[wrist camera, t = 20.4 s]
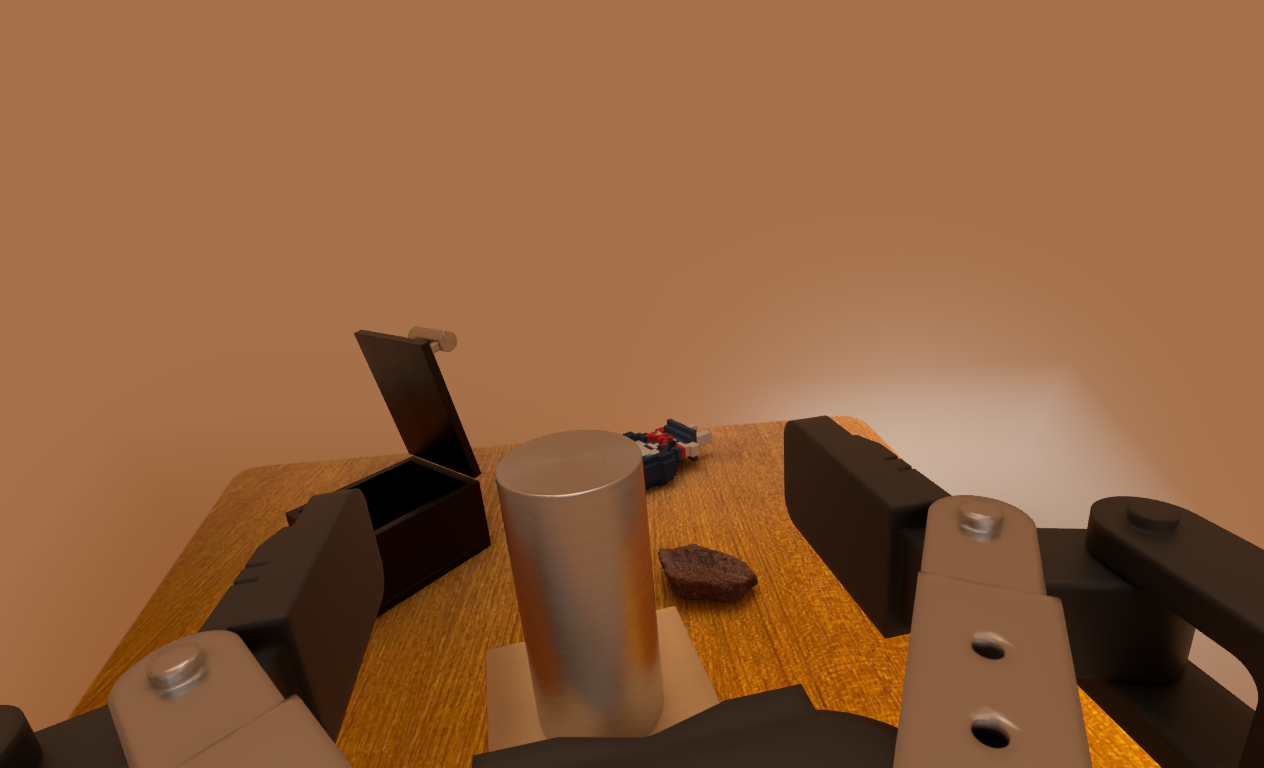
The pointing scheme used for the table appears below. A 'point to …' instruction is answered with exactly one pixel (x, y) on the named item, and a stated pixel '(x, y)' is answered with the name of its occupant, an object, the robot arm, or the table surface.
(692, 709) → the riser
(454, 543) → the dark brown box
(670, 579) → the stone
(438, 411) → the lid
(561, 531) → the canister
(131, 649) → the table surface
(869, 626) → the table surface
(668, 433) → the figurine
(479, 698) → the table surface
